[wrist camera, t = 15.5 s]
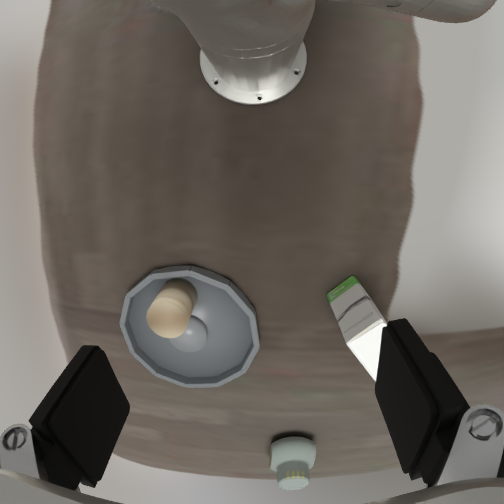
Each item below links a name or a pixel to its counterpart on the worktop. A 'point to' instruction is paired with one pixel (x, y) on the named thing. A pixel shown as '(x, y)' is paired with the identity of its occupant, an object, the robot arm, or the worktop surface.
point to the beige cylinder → (172, 308)
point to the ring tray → (194, 330)
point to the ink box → (358, 322)
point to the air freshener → (292, 461)
